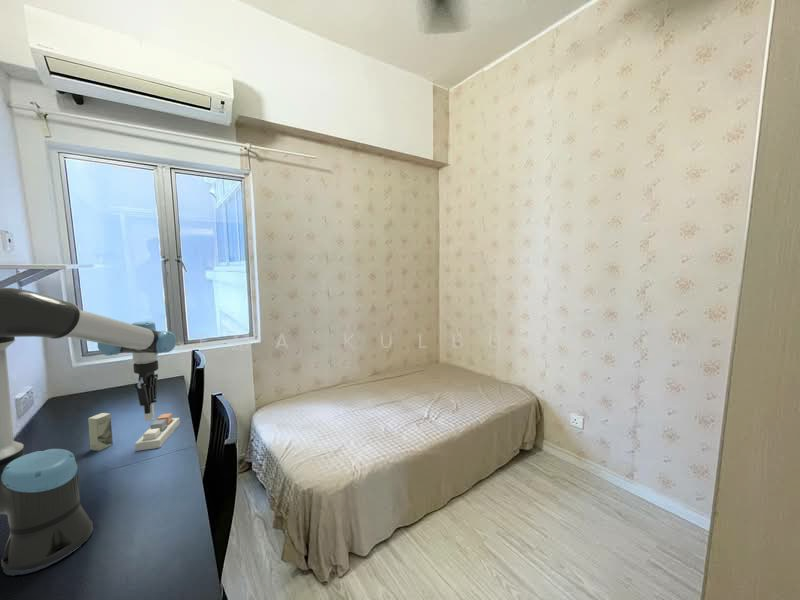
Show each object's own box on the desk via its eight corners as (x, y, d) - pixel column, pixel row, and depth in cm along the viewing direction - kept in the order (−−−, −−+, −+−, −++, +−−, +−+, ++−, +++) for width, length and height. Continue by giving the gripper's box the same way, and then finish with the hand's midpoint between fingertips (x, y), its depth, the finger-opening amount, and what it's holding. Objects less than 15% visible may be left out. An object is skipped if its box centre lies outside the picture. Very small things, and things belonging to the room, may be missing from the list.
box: (99, 451, 121) (95, 419, 120) (90, 450, 122) (86, 418, 121) (114, 444, 126) (111, 413, 125) (105, 443, 127) (102, 412, 126)
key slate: (162, 431, 130) (161, 423, 130) (151, 432, 129) (150, 425, 129) (166, 426, 134) (166, 419, 134) (155, 427, 133) (154, 420, 133)
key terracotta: (168, 424, 136) (168, 417, 136) (157, 425, 135) (157, 418, 135) (172, 420, 140) (171, 413, 140) (161, 421, 139) (161, 414, 138)
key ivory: (155, 440, 125) (155, 432, 124) (143, 442, 124) (143, 434, 123) (160, 435, 128) (159, 428, 128) (148, 437, 127) (148, 429, 127)
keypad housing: (160, 447, 123) (159, 440, 123) (135, 450, 121) (134, 443, 121) (179, 423, 143) (179, 417, 142) (159, 426, 140) (158, 419, 140)
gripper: (149, 365, 118) (153, 426, 120) (164, 356, 130) (167, 412, 132) (124, 366, 116) (129, 429, 118) (142, 358, 128) (146, 414, 130)
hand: (149, 420), depth 125 cm, fingers closed
